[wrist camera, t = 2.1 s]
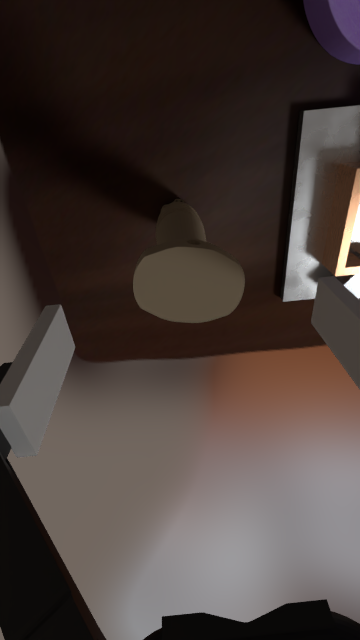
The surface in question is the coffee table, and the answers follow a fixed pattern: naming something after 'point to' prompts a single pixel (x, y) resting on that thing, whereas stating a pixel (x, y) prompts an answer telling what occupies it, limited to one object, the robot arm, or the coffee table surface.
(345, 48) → the masking tape
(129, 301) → the coffee table surface
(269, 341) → the coffee table surface
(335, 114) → the coupling base
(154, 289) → the handle
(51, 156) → the coffee table surface
